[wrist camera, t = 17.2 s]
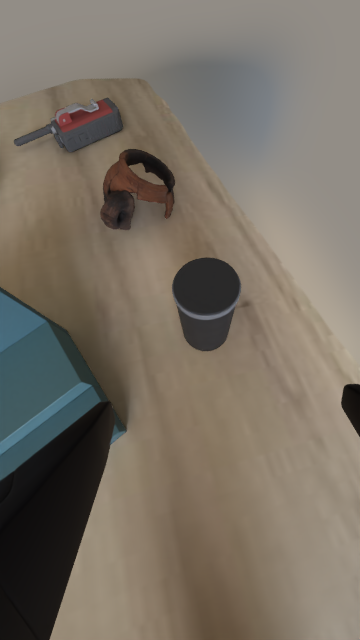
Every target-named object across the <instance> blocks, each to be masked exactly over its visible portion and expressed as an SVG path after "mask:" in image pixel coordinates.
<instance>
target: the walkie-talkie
mask: <svg viewBox="0 0 360 640" xmlns="http://www.w3.org/2000/svg"><path fill="white" fill-rule="evenodd" d="M90 102H91V103H92V104H91V105H88V106H84V105H81V104H78V103H74V104H72V105H69V106H67V107H66V108H62V109H60V110H58V111H57V112H56V114H55V116H56V117H53V118H51V124H48V125H46V127H44V128H41V129H39V130H36V131H34V132H32V133H29V134H27V135H24V136H22V137H20V138H17V139H15V140H14V143H15V145H16V146H21V145H23V144H25V143H28V142H30V141H33V140H35V139H37V138H40V137H42V136H44V135H47V134H49V133H51V134H52V133H53V134H54V136H55V138H56V140H57V142H58V144H59V146H60V147H61V148H63V147H64V146H65V148H66V149H67V151H68V152H73V151H75V150H77V149H80V148H82V147H84V146H86V145H89V144H91V143H93V142H95V141H98V140H100V139H102V138H104V137H107V136H109V135H111V134H113V133H116V132H118V131H120V130H121V129H122V128H123V124H122V120H121V117H120V113H119V109H118V107H117V106H116V105H115V104H114V103H113V102H112V101H111V100H110V99H109V98H105V99H103V100H100V101H98V102H95V101H94V100H93V99H91V100H90ZM63 145H64V146H63Z"/></svg>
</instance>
